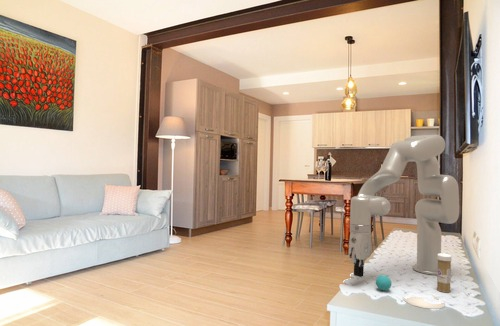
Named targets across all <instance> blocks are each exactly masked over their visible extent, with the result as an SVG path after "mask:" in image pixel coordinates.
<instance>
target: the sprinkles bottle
mask: <svg viewBox="0 0 500 326" xmlns="http://www.w3.org/2000/svg"><path fill="white" fill-rule="evenodd" d="M437 259H438V273H437V275H436V277H437V278H436V281H437V283H436V284H437V285H436V286H437V287H436V290H437V292H438V291H439V292H442V293H450V292H451V283H452V282H451V278H452V275H451V274H452V272H451V271H452V269H451V268H452V265H451V264H452V263H451V262H452V255H451V254H449V253H442V252H441V253H439V254H438V255H437Z"/></svg>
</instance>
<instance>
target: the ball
mask: <svg viewBox="0 0 500 326" xmlns="http://www.w3.org/2000/svg"><path fill="white" fill-rule="evenodd" d="M375 285H376V287H377V288H378V289H379V290H380V291H382V290H383V292H386V291H388V290H390V289H391V288H392V280H391V279H390V277H389V276H388V275H384V274H381V275H378V276H377V277H376V279H375Z"/></svg>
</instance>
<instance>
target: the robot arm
mask: <svg viewBox="0 0 500 326" xmlns="http://www.w3.org/2000/svg"><path fill="white" fill-rule="evenodd" d="M445 149H446V140H445V138H443V136H441V135H439V134H426V135H425V134H424V135H413V136H408V137H405V139H403V140H402V141H396V142H394V143H393V144H392V145H391V146H390V148H389V150H388V152H387V153H386V157H385V158H384V159H383V163H382V164H381V166H380V168H379V170H378V171H377V172H376V173H374V174H373V175H372V176H371V177H370V178H368V179H367V180H366V181H365V182H364V183H363V184H362V186H361V188H360V189H359V191H358V194H357V196H352V197H351V198H350V208H349V209H350V213H349V214H350V215H349V233H350V234H349V241H348V257H349V258H350V263H352V264H353V276H355V277H358V278H362V277H364V271H365V269H364V266H365V261H366V259H368V258H370V257H371V255H372V241H371V216H379V217H382V216H386V215H387V214H389V213H390V211H391V207H392V205H391V202H390V200H388V199H387V198H386V197H383V196H378V195H377V196H376V195H375V194H376V193H377V192H378V191H379V190H381V189H382V188H385V187H387V186H389V185H392V184H394V183H396V182H399V181H400V179H401V177H402V176H403V173H404V171H405V169H406V166H407V164H408V163H409V162H413V163H414V162H415V164H416V169H417V171H416V172H417V175H416V176H417V189H418V192H419V193H420V194H421V195H423V196H429V197H435V198H436V197H437V198H440V199H435V198H421V199H419V200H418V201H417V202H416V204H415V206H414V213H415V217H416V227H417V228H416V229H417V231H416V233H417V234H416V264H413V265H412V270H414V271H416V272H417V273H421V274H425V275H434V276H437V273H438V259H437V255H438V254H439V253H442V229H441V226H440V224H439V223H442V224H448V225H449V224H455V223H456V222H457V221H458V219H459V218H460V192H459V189H460V187H459V183H458V181H457V180H456V178H455V177H454V176H452V175H449V174H440V168H439V167H440V165H439V161H438V159H437V156H439V155H442V153H443V152H444V151H445Z"/></svg>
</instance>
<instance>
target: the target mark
mask: <svg viewBox="0 0 500 326" xmlns="http://www.w3.org/2000/svg"><path fill="white" fill-rule="evenodd" d="M433 297H434V299H436V300H439V299H440V298H439V297H437V296H433ZM403 301H404V302H405V303H408V304H409V305H411V306H413V307H417V308H422V309H429V310H440V309H443V308H445V306H446V302H444V303H441V304H430V303H428V302H425V301H424V300H423V299H422V298H420V297H419V298H418V297H417V298H416V297H410V298H407V299H405V298H404V300H403Z"/></svg>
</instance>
